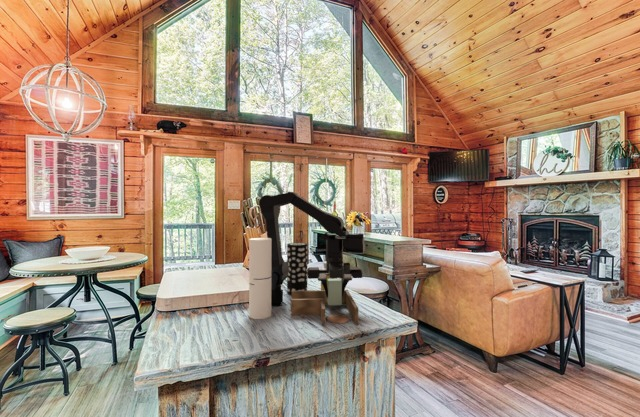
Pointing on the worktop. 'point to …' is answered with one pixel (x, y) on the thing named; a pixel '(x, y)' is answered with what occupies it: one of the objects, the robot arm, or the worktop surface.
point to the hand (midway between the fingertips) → (334, 297)
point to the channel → (321, 305)
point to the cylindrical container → (260, 278)
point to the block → (334, 291)
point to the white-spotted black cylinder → (297, 267)
